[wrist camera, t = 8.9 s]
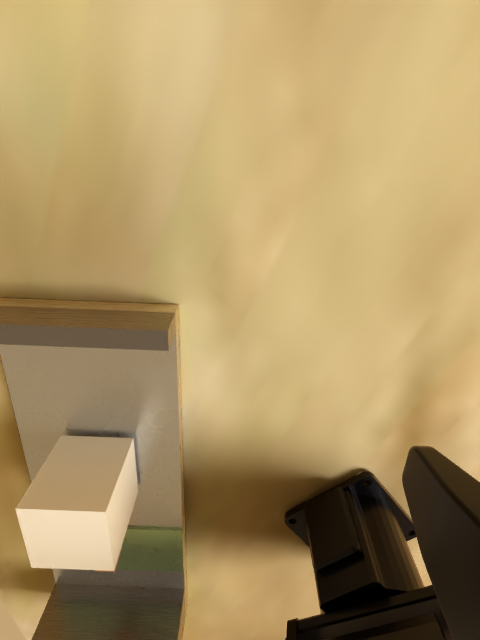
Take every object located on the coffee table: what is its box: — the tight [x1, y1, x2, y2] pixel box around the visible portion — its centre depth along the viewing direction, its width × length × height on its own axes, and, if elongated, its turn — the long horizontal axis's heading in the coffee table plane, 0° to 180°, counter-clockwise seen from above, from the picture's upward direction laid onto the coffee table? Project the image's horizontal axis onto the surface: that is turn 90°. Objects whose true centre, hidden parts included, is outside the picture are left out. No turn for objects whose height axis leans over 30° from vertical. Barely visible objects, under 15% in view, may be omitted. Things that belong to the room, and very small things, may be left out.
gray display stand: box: [0, 298, 187, 640], centre depth 23 cm, size 24×9×6 cm, turn 178°
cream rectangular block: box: [15, 435, 138, 572], centre depth 22 cm, size 9×4×5 cm, turn 178°
